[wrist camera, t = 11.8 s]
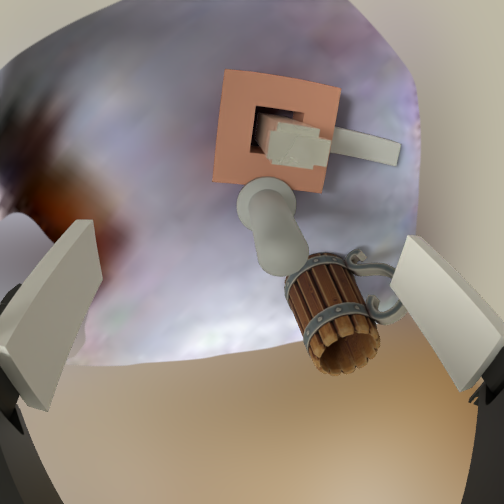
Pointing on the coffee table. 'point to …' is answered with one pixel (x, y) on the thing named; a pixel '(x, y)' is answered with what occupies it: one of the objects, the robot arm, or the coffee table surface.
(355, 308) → the mug
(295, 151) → the wedge pin
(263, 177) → the square hole peg fixture
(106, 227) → the coffee table surface
